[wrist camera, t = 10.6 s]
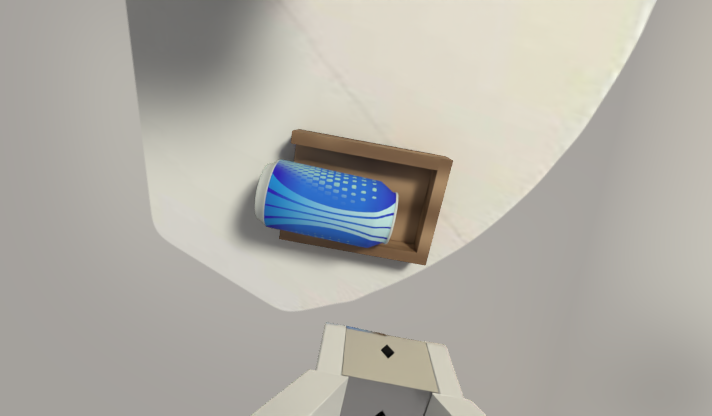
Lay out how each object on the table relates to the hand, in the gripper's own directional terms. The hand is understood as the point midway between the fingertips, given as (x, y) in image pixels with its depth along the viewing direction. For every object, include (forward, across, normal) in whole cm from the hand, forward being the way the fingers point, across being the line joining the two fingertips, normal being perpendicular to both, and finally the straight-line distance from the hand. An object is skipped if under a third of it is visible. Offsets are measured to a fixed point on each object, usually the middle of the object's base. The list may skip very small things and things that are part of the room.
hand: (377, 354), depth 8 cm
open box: (+37, +1, +5) cm, 37 cm away
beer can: (+32, +12, +6) cm, 35 cm away
